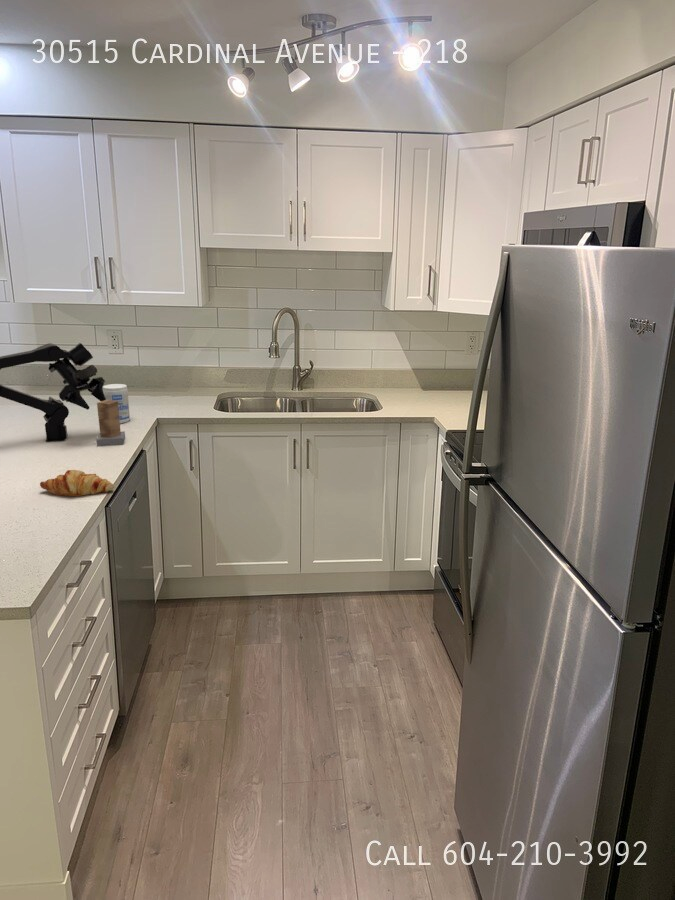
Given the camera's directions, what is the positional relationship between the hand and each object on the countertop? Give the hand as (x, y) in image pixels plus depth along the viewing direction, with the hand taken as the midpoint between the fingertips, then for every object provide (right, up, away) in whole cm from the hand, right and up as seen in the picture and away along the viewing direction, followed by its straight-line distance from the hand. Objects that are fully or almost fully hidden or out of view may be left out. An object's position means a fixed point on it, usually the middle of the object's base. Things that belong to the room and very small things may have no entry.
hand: (97, 405), depth 236 cm
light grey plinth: (+4, -13, +2) cm, 14 cm away
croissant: (+11, -28, -46) cm, 55 cm away
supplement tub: (-3, -4, +30) cm, 31 cm away
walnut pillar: (+4, -11, +2) cm, 11 cm away
